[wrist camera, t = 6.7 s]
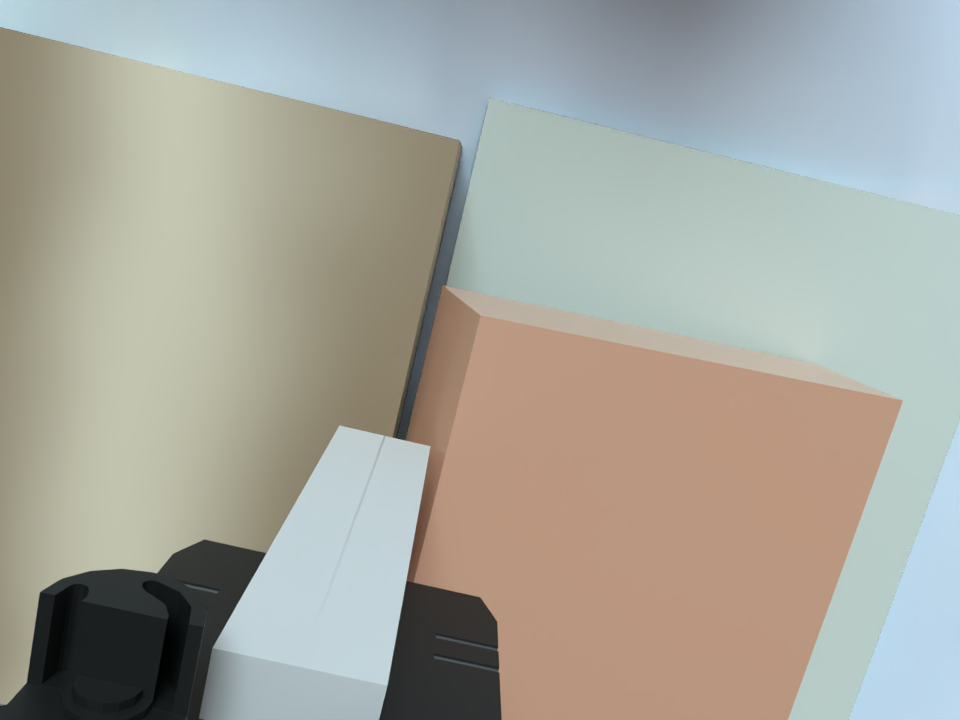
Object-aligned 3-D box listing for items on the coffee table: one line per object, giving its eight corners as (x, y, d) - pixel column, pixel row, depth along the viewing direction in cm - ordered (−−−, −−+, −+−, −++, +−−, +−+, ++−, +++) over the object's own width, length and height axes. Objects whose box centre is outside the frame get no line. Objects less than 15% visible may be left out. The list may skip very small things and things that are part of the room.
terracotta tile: (357, 640, 16) (377, 727, 14) (442, 285, 15) (480, 315, 12) (712, 664, 19) (780, 741, 16) (814, 363, 17) (902, 400, 15)
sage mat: (346, 719, 19) (343, 730, 19) (488, 99, 16) (488, 97, 16) (802, 813, 20) (808, 826, 20) (1016, 231, 17) (1029, 232, 17)
